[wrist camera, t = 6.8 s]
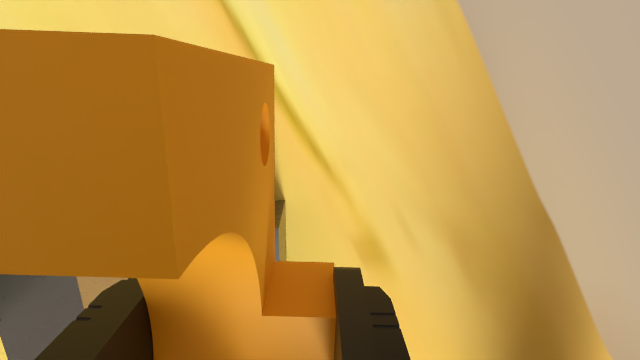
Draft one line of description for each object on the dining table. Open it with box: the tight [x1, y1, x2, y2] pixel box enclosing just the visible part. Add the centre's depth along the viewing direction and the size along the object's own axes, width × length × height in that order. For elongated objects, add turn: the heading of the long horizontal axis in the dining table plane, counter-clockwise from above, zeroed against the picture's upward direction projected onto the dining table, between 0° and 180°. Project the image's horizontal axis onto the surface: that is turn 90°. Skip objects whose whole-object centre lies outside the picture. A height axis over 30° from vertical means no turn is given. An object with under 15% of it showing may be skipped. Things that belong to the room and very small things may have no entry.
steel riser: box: [0, 201, 286, 360], centre depth 27 cm, size 20×16×5 cm
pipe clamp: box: [0, 29, 336, 360], centre depth 7 cm, size 12×4×6 cm, turn 178°
